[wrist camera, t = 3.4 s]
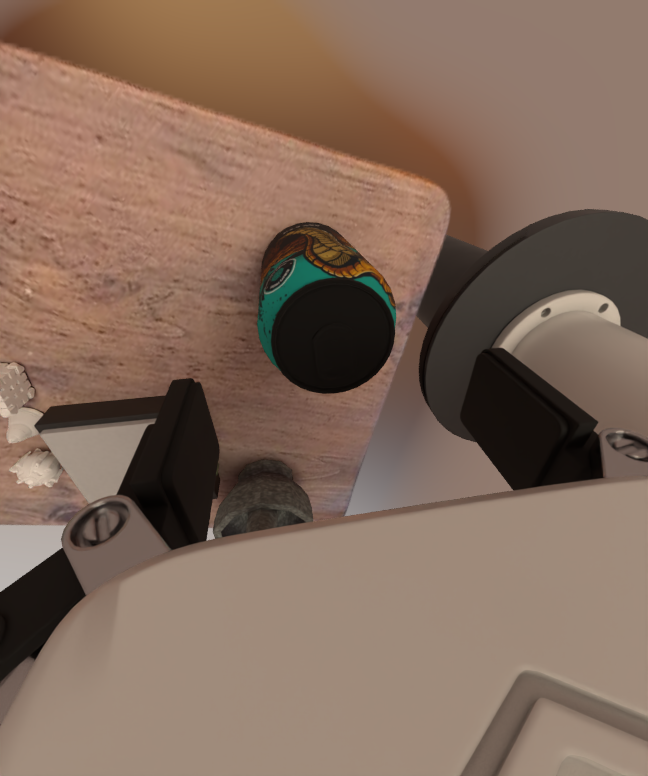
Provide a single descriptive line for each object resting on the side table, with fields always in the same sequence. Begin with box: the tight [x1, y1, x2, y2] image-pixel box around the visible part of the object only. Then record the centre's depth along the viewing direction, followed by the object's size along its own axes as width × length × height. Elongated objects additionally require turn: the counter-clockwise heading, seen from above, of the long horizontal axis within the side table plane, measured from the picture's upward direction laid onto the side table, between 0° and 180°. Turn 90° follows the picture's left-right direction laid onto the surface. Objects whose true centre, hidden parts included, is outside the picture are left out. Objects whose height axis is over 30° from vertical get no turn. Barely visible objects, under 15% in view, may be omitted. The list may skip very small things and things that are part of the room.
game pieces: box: [0, 362, 63, 488], centre depth 27 cm, size 12×3×3 cm, turn 174°
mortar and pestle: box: [213, 459, 313, 539], centre depth 32 cm, size 11×9×12 cm
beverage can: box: [257, 222, 396, 394], centre depth 20 cm, size 7×7×12 cm
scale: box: [34, 396, 220, 504], centre depth 31 cm, size 13×12×3 cm
